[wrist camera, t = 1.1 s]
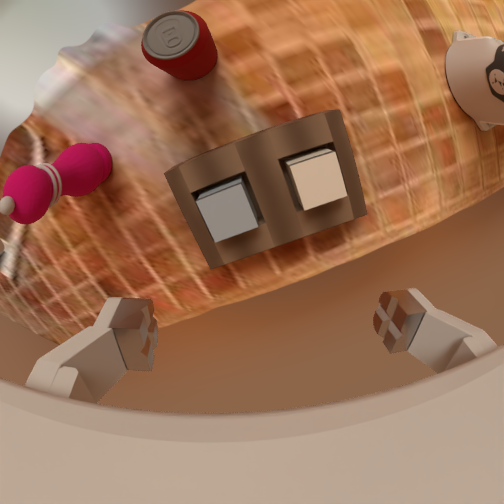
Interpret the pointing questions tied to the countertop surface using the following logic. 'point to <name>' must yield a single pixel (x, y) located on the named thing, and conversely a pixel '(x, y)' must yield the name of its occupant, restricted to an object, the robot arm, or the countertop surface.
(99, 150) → the pepper mill
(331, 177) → the cream key
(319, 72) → the countertop surface
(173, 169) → the frame
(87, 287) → the countertop surface
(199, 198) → the slate key
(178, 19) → the beverage can
